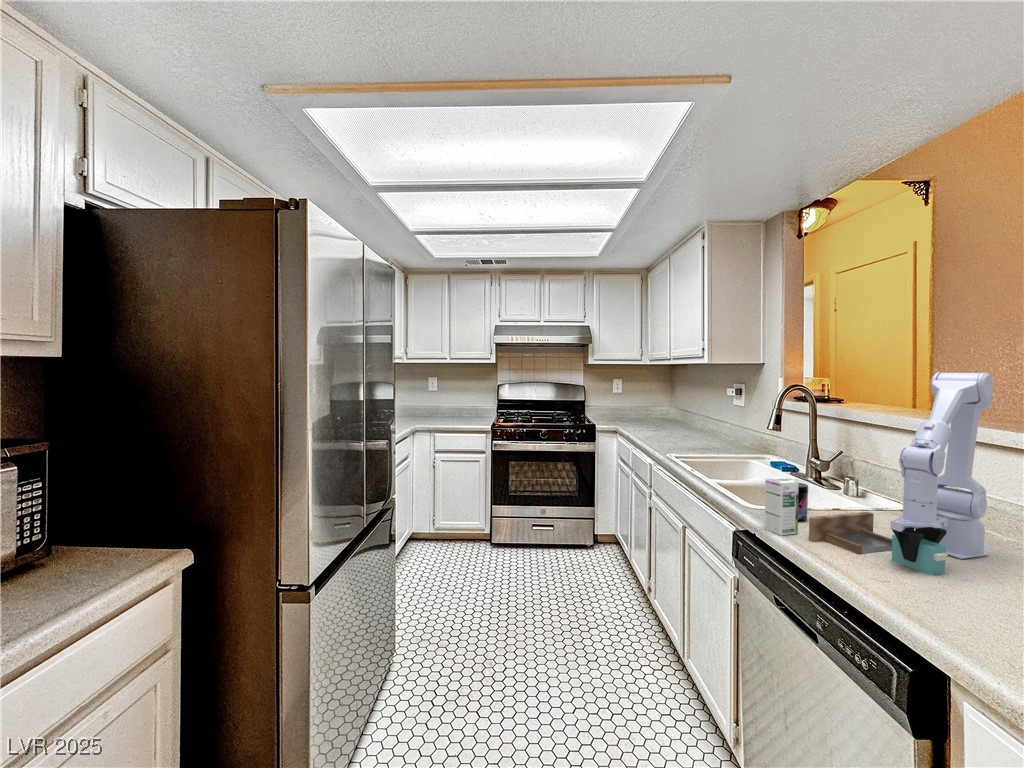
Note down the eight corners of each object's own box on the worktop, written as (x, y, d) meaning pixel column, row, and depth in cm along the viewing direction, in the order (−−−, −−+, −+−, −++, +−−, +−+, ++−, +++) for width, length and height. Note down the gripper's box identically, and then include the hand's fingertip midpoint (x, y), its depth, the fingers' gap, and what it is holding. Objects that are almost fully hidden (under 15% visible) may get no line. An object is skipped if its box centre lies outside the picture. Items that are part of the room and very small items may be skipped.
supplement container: (787, 522, 135) (788, 486, 135) (776, 514, 142) (777, 481, 142) (812, 522, 134) (813, 487, 134) (799, 515, 141) (801, 481, 141)
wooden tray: (867, 533, 126) (868, 511, 126) (909, 548, 116) (910, 524, 116) (808, 540, 121) (809, 517, 121) (847, 555, 111) (848, 530, 110)
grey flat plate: (860, 537, 123) (860, 532, 123) (895, 549, 115) (895, 544, 115) (828, 540, 120) (828, 536, 120) (861, 553, 112) (861, 548, 112)
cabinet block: (905, 558, 110) (906, 533, 109) (949, 574, 101) (950, 547, 101) (891, 560, 108) (892, 535, 108) (934, 576, 100) (935, 549, 100)
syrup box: (781, 536, 123) (782, 482, 123) (763, 528, 129) (764, 477, 129) (798, 534, 125) (799, 481, 125) (780, 527, 131) (781, 476, 130)
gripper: (915, 507, 99) (913, 569, 99) (964, 502, 103) (961, 563, 103) (881, 498, 106) (879, 556, 106) (928, 494, 109) (925, 551, 110)
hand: (917, 559), depth 105 cm, fingers closed on cabinet block, 4 cm apart
